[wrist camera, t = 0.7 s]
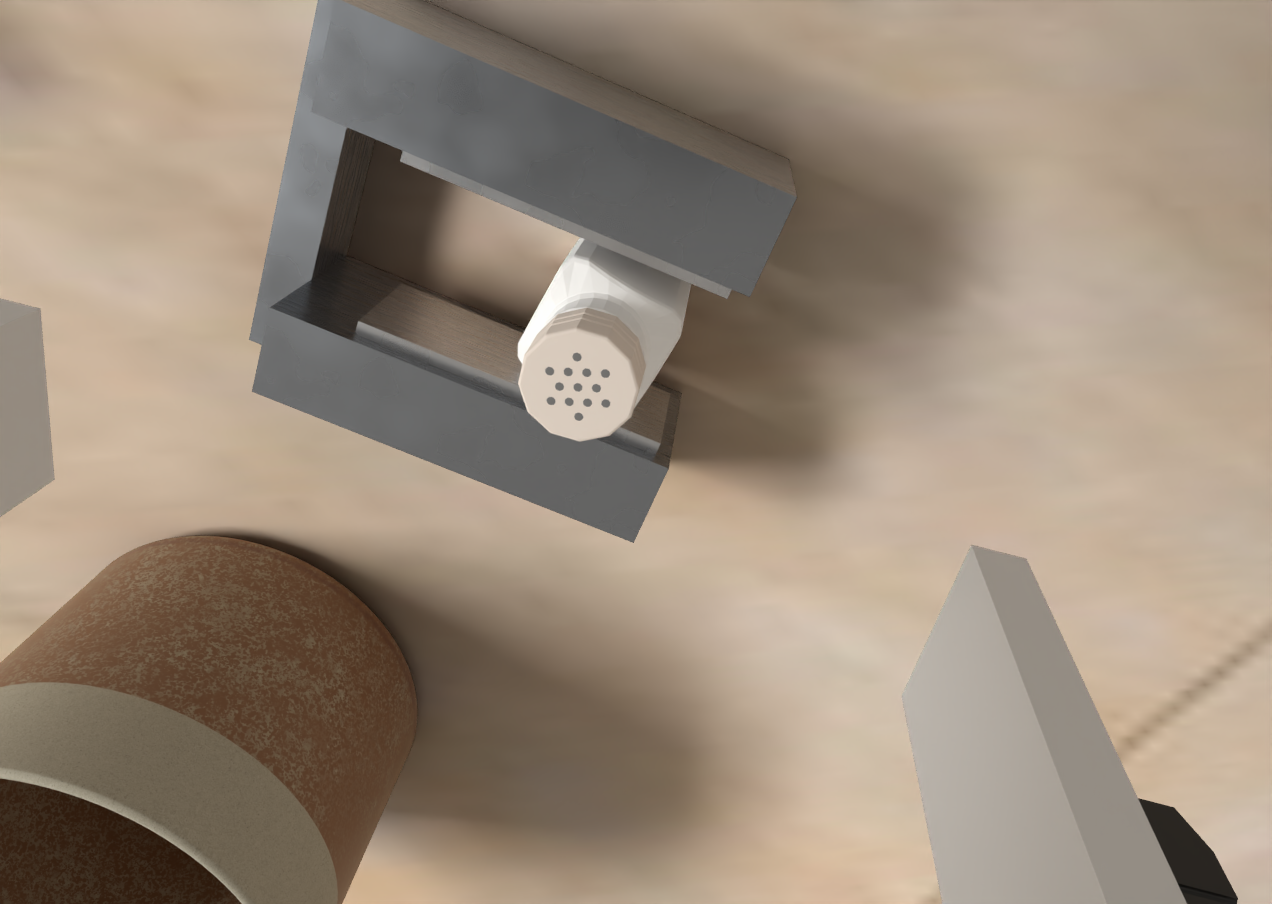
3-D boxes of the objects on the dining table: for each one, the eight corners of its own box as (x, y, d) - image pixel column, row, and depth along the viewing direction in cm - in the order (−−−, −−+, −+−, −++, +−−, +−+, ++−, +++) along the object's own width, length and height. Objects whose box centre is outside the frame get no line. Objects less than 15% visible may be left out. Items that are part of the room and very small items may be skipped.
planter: (39, 525, 40) (-269, 760, 28) (388, 524, 38) (219, 777, 26) (148, 792, 47) (-61, 1073, 35) (448, 804, 45) (337, 1106, 33)
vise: (287, 312, 35) (203, 372, 29) (362, -26, 29) (275, -29, 24) (651, 459, 36) (633, 542, 30) (788, 159, 30) (797, 197, 25)
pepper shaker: (701, 264, 32) (683, 365, 24) (643, 357, 34) (607, 481, 25) (600, 203, 32) (545, 284, 23) (547, 300, 33) (477, 408, 25)
